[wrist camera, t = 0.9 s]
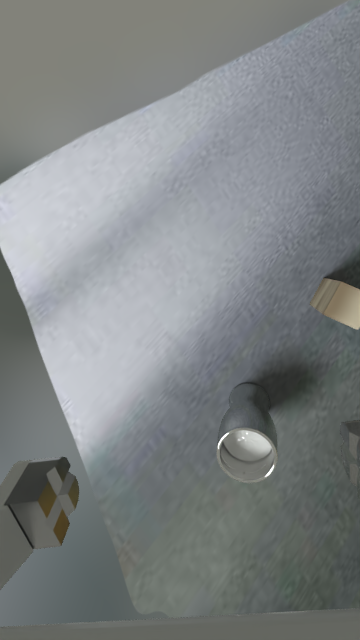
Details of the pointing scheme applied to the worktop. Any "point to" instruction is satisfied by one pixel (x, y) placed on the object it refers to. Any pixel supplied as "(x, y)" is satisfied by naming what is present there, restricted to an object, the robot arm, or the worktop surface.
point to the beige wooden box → (338, 302)
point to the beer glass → (247, 436)
